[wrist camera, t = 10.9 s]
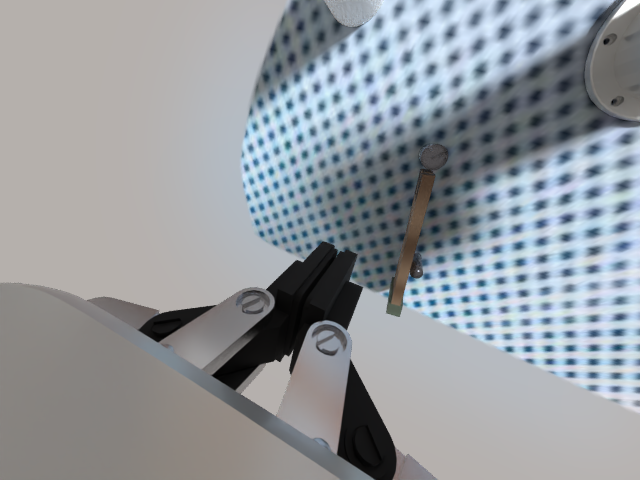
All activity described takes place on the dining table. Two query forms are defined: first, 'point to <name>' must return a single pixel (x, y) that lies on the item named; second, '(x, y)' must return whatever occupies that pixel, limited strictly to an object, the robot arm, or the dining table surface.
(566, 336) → the dining table surface
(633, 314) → the dining table surface
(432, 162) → the hinge post
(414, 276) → the post
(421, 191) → the wooden plank on edge
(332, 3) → the cylindrical container
